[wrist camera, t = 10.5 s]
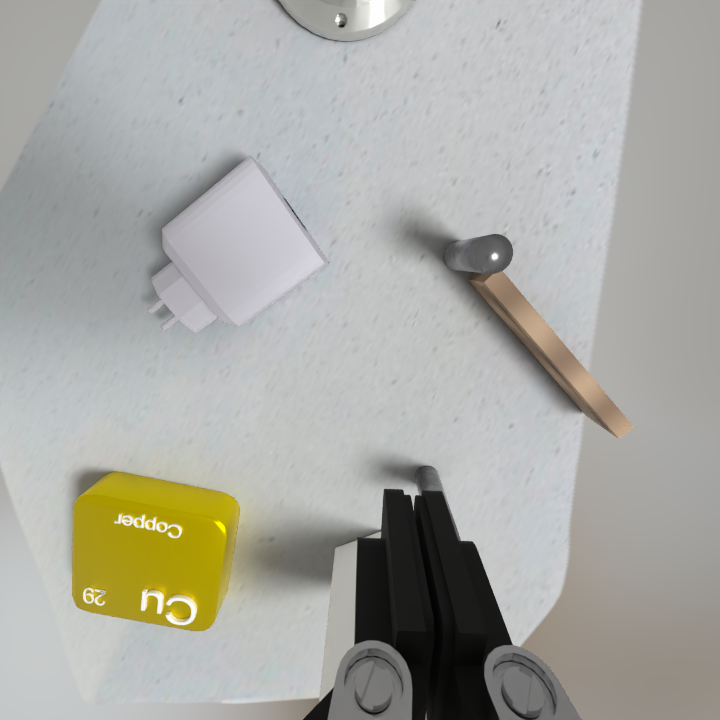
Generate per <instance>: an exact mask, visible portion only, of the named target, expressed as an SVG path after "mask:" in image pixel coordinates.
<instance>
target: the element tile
mask: <svg viewBox="0 0 720 720" xmlns="http://www.w3.org/2000/svg"><path fill="white" fill-rule="evenodd" d="M239 515H240V508H239V505H238V502H237V501H236V500H235V499H234V498H233V497H232V496H230V495H228V494H226V493H223V492H218V491H213V490H208V489H203V488H198V487H193V486H188V485H183V484H178V483H173V482H168V481H163V480H158V479H153V478H148V477H143V476H138V475H133V474H128V473H123V472H111V473H108V474H106V475H105V476H103V477H102V478H101V479H100V480H99V481H97V482H96V483H95V484H94V485H93V486H91V487H90V488H89V489H88V490H86V491H85V492H84V493H83V494H82V495H80V496H79V497H78V498H77V500H76V502H75V503H74V506H73V552H72V596H73V599H74V602H75V604H76V606H77V607H78V608H80V609H82V610H85V611H88V612H91V613H96V614H101V615H107V616H112V617H118V618H123V619H129V620H135V621H140V622H146V623H151V624H157V625H162V626H168V627H173V628H179V629H184V630H190V631H204V630H206V629H208V628H210V627H211V626H212V624H213V623H214V621H215V619H216V617H217V614H218V612H219V610H220V607H221V605H222V602H223V600H224V598H225V595H226V593H227V590H228V584H229V578H230V572H231V566H232V559H233V553H234V547H235V540H236V534H237V528H238V522H239Z"/></svg>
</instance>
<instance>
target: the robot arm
mask: <svg viewBox="0 0 720 720" xmlns="http://www.w3.org/2000/svg"><path fill="white" fill-rule="evenodd" d="M279 1H280V3H281V4H282V6H283V7H284V8H285V10H286V11H287V12H288V13H289V14H290V15H291V16H292V17H293V18H294V19H295V20H296V21H297V22H298V23H299V24H300V25H302V26H303V27H305V28H307V29H308V30H310V31H311V32H313V33H314V34H317V35H320V36H322V37H325V38H328V39H332V40H339V41H355V40H362V39H366V38H369V37H372V36H375V35H377V34H379V33H381V32H382V31H384V30H386V29H387V28H389V27H391V26H392V25H393V24H394V23H396V22H397V21H398V20H399V19H400V18H401V17H402V16H403V15H404V14H405V13H406V12H407V11H408V9H409V8H410V7H411V5H412V4H413V3H414V2H415V0H279ZM340 25H344V26H345V27H343V28H340V27H339V26H340ZM426 713H427V720H581V718H580V716H579V715H578V713H577V711H576V709H575V708H574V706H573V704H572V703H571V701H570V699H569V697H568V696H567V694H566V692H565V690H564V689H563V687H562V685H561V684H560V682H559V680H558V679H557V677H556V676H555V674H554V673H553V672H552V670H551V669H550V667H548V666H547V665H546V664H545V663H544V662H543V661H542V660H541V659H540V658H539V657H538V656H536V655H534V654H533V653H531V652H530V651H528V650H526V649H523V648H521V647H518V646H513V644H512V642H511V639H510V636H509V634H508V631H507V628H506V626H505V623H504V620H503V618H502V615H501V612H500V610H499V607H498V604H497V601H496V599H495V596H494V593H493V591H492V588H491V585H490V583H489V580H488V577H487V575H486V572H485V569H484V567H483V564H482V561H481V559H480V556H479V553H478V551H477V548H476V546H475V544H474V543H473V542H472V541H458V538H457V535H456V532H455V529H454V525H453V522H452V519H451V516H450V513H449V510H448V507H447V504H446V500H445V497H444V494H443V492H442V491H429V490H423V491H422V495H416V496H415V502H414V511H413V506H412V500H411V496H410V495H404V492H403V490H400V489H384V495H383V511H382V526H381V538H357V560H356V593H355V635H354V646H353V647H352V648H351V649H349V650H348V651H347V653H346V654H345V655H344V657H343V658H342V660H341V662H340V665H339V667H338V670H337V674H336V679H335V684H334V687H333V688H332V689H331V691H330V692H329V693H328V694H327V695H326V696H325V697H324V698H323V699H322V700H321V701H320V702H319V703H318V704H317V705H316V706H315V708H314V709H313V710H312V711H311V712H310V713H309V714H308V715H307V716H306V717H305V718H304V719H303V720H425V715H426Z"/></svg>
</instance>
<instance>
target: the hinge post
mask: <svg viewBox="0 0 720 720" xmlns="http://www.w3.org/2000/svg"><path fill="white" fill-rule="evenodd" d="M512 256H513V248H512V245H511V243H510V241H509V240H508V239H507V238H506V237H504V236H502V235H499V234H492V235H487V236H482V237H477V238H472V239H467V240H462V241H457V242H454V243H452V244H450V245H449V246H448V247H447V248H446V250H445V253H444V261H445V263H446V265H447V266H448V267H449V268H450V269H453V270H459V271H468V272H477V273H487V274H496V273H499V272H501V271H503V270H504V269H505V268H506V267H507V266H508V265H509V264H510V262H511V260H512Z"/></svg>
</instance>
